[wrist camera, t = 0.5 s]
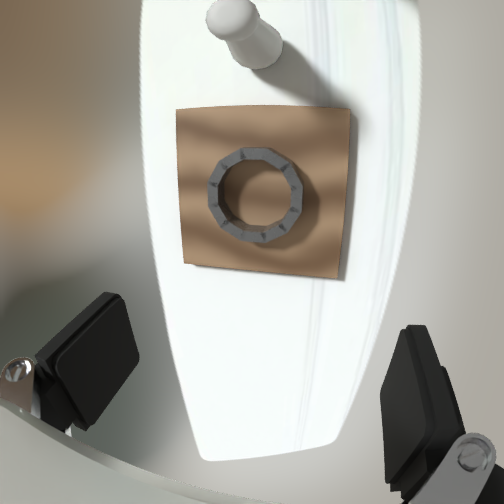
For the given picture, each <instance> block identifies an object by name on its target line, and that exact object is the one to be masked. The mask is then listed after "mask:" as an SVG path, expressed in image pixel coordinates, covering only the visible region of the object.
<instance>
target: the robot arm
mask: <svg viewBox="0 0 504 504" xmlns="http://www.w3.org/2000/svg"><path fill="white" fill-rule="evenodd" d="M35 358H36V360H37V362H38V363H37V364H36V365H35V364H34V362H33V361H32V360H31V359H29V358H26V357H19V358H16V359H14V360H12V361H10V362H9V363H8V364H7V365H6V366H5V367H4V368H3V371H2V373H1V377H0V504H282V503H274V502H267V501H261V500H255V499H249V498H244V497H238V496H233V495H228V494H224V493H220V492H215V491H211V490H207V489H204V488H200V487H196V486H192V485H188V484H185V483H182V482H179V481H175V480H172V479H169V478H166V477H163V476H160V475H157V474H154V473H151V472H149V471H146V470H143V469H140V468H138V467H135V466H133V465H130V464H128V463H125V462H123V461H121V460H118V459H116V458H114V457H111V456H109V455H107V454H105V453H102V452H100V451H98V450H96V449H94V448H92V447H90V446H88V445H86V444H84V443H82V442H80V441H78V440H76V439H74V438H72V437H71V428H70V425H71V424H72V423H74V425H75V426H76V427H78V428H80V429H83V430H84V431H87V429H88V428H89V427H90V425H93V424H95V422H96V421H97V419H98V418H99V417H100V415H101V414H102V413H103V411H104V410H105V408H106V407H107V406H108V404H109V403H110V401H111V400H112V398H113V397H114V396H115V394H116V393H117V392H118V390H119V389H120V387H121V386H122V385H123V383H124V382H125V381H126V379H127V377H128V376H129V375H130V374H131V372H132V371H133V370H134V368H135V367H136V366H137V364H138V362H139V352H138V349H137V346H136V342H135V339H134V335H133V332H132V328H131V324H130V321H129V317H128V313H127V309H126V305H125V302H124V300H123V299H122V298H121V296H120V295H119V294H115V293H110V292H104V293H102V294H101V295H100V296H99V297H98V298H97V299H96V300H94V301H93V302H92V303H91V304H90V305H89V306H87V307H86V308H85V309H84V310H83V311H82V312H81V313H80V314H79V315H77V317H75V318H74V319H73V320H72V321H71V322H70V323H69V324H67V325H66V326H65V327H64V328H63V329H62V330H61V331H60V332H59V333H58V334H57V335H56V336H55V337H53V338H52V339H51V340H50V341H49V342H48V343H47V344H46V345H45V346H44V347H43V348H42V349H41V350H40V351H39V352H38V353H37V354H36V355H35ZM380 402H381V413H382V426H383V441H384V462H385V482H386V483H387V484H388V483H390V491H391V492H394V491H401V498H402V499H403V501H402V502H401V503H400V504H504V469H503V468H502V467H500V466H498V465H497V464H495V461H496V450H495V447H494V445H493V444H492V442H491V441H490V440H489V439H488V438H487V437H485V436H484V435H481V434H478V433H468V434H466V432H465V428H464V425H463V421H462V417H461V414H460V410H459V407H458V404H457V400H456V397H455V394H454V391H453V388H452V385H451V382H450V379H449V376H448V373H447V370H446V368H445V367H443V366H441V365H440V363H439V360H438V357H437V354H436V352H435V348H434V346H433V343H432V340H431V338H430V335H429V333H428V330H427V328H426V326H425V325H408V326H407V327H406V329H402V330H401V331H400V334H399V337H398V341H397V344H396V347H395V350H394V353H393V356H392V359H391V362H390V365H389V368H388V371H387V374H386V376H385V380H384V382H383V385H382V388H381V392H380Z"/></svg>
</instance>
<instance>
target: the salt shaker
mask: <svg viewBox="0 0 504 504" xmlns="http://www.w3.org/2000/svg"><path fill="white" fill-rule="evenodd" d="M206 23H207V26H208V29H209V31H210V32H211V33H212V34H213V35H215V36H216V37H217V38H219V39H221V40H225V41H226V43H227V45H228V47H229V50H230V52H231V54H232V56H233V59H234V60H235V61H237V62H238V63H239V64H240V65H241V66H244V67H247V68H250V69H261V68H266V67H268V66H270V65H272V64H274V63H275V62H276V61H277V59H278V58H279V57H280V55H281V54H282V47H283V40H282V38H281V36H280V33H279V32H278V31H277V30H276V29H274V28H273V27H272V26H271V25H269V24H268V23H266V22H265V21H264V20H262V19H261V18H260V15H259V13H258V10H257V8H256V6H255V4H253V3H252V2H251V1H249V0H217V1H216V2H214V3H213V4H212V5H211V7H210V8H209V9H208V11H207V14H206Z"/></svg>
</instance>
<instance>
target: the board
mask: <svg viewBox="0 0 504 504" xmlns="http://www.w3.org/2000/svg"><path fill="white" fill-rule="evenodd" d="M349 136H350V109H342V108H329V107H313V106H287V105H243V106H217V107H200V108H188V109H177V110H176V143H177V170H178V190H179V207H180V222H181V235H182V247H183V258H184V263H186V264H195V265H204V266H214V267H223V268H233V269H243V270H253V271H263V272H274V273H284V274H295V275H305V276H316V277H328V278H337V276H338V268H339V260H340V252H341V243H342V234H343V224H344V214H345V202H346V190H347V175H348V158H349ZM243 147H271V148H273V149H274V150H276V151H278V152H279V153H281V154H283V155H284V156H286V157H287V158H289V159H291V160H292V161H293V163H294V165H295V167H296V168H297V170H298V172H299V174H300V176H301V178H302V180H303V182H304V195H303V208H302V212H301V214H300V215H299V217H298V218H297V220H296V221H295V223H294V224H293V226H292V227H291V229H290V230H289V231H288V233H286V234H284V235H282V236H280V237H277V238H275V239H273V240H271V241H269V242H267V243H259V242H247V241H240V240H239V239H237V238H236V237H234V236H232V235H231V234H229V233H228V232H226V231H224V230H223V229H221V228H220V226H219V225H218V223H217V221H216V220H215V218H214V216H213V214H212V213H211V211H210V209H209V208H208V193H207V182H208V180H209V178H210V176H211V174H212V172H213V171H214V169H215V167H216V165H217V163H218V161H219V160H221V159H223V158H224V157H226V156H228V155H230V154H231V153H233V152H235V151H236V150H238V149H240V148H243ZM224 189H225V201H226V203H227V204H228V206H229V208H230V209H231V211H232V213H233V215H235V216H236V217H238V218H239V219H241V220H242V221H244V222H246V223H247V224H249V225H263V226H267V225H269V224H271V223H274V222H276V221H278V220H280V219H282V218H283V217H284V215H285V214H286V212H287V211H288V209H289V208H290V205H291V188H290V186H289V184H288V182H287V180H286V178H285V177H284V175H283V173H282V171H281V170H279V169H278V168H276V167H274V166H273V165H271V164H270V163H268V162H266V161H265V160H251V159H245V160H243V161H241V162H240V163H238V164H236V165H234V166H233V167H232V169H231V171H230V172H229V174H228V176H227V178H226V180H225V181H224Z"/></svg>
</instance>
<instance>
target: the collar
mask: <svg viewBox="0 0 504 504" xmlns="http://www.w3.org/2000/svg"><path fill="white" fill-rule="evenodd" d="M245 159H251V160H265V161H266V162H268V163H270V164H271V165H273V166H274V167H276V168H278V169H279V170H281V171H282V173H283V175H284V177H285V178H286V180H287V182H288V184H289V186H290V188H291V205H290V208H289V209H288V211H287V212H286V214H285V215H284V217H283V218H282V219H280V220H278V221H276V222H274V223H271V224H269V225H267V226H263V225H249V224H247V223H246V222H244V221H242V220H241V219H239V218H238V217H236V216H235V215H233V213H232V211H231V209H230V208H229V206H228V204H227V203H226V201H225V189H224V181H225V180H226V178H227V176H228V174H229V172H230V171H231V169H232V167H233V166H234V165H236V164H238V163H240V162H241V161H243V160H245ZM207 193H208V208H209V209H210V211H211V213H212V214H213V216H214V218H215V220H216V221H217V223H218V225H219V226H220V228H221V229H223V230H224V231H226V232H228V233H229V234H231V235H232V236H234V237H236V238H237V239H239V240H240V241H247V242H259V243H267V242H269V241H271V240H273V239H275V238H277V237H280V236H282V235H284V234H286V233H288V231H289V230H290V229H291V227H292V226H293V224H294V223H295V221H296V220H297V218H298V217H299V215H300V214H301V212H302V208H303V195H304V182H303V180H302V178H301V176H300V174H299V172H298V170H297V168H296V167H295V165H294V163H293V161H292V160H291V159H289V158H287V157H286V156H284V155H283V154H281V153H279V152H278V151H276V150H274V149H273V148H271V147H243V148H240V149H238V150H236V151H235V152H233V153H231V154H230V155H228V156H226V157H224V158H223V159H221V160H219V161H218V163H217V165H216V167H215V169H214V171H213V172H212V174H211V176H210V178H209V180H208V182H207Z"/></svg>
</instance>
